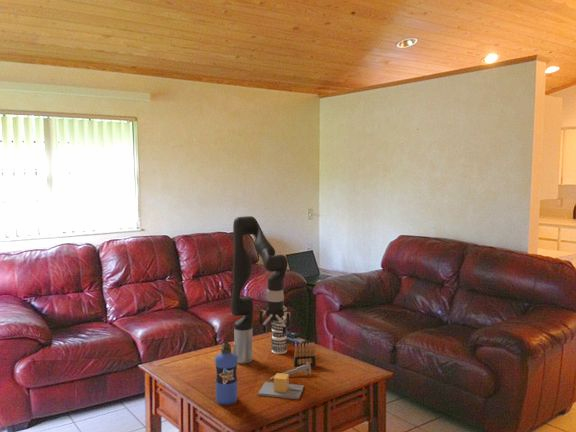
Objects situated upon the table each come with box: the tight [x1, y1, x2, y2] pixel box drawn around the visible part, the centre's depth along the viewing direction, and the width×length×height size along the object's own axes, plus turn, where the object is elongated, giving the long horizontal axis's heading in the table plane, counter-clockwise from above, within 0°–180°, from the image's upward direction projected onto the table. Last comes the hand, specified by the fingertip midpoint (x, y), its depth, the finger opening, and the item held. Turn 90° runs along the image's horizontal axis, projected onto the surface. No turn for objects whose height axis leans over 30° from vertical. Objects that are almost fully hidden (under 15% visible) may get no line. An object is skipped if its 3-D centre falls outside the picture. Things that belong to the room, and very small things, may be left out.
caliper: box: [270, 362, 312, 380], centre depth 236 cm, size 20×1×6 cm, turn 108°
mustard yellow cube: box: [273, 372, 290, 392], centre depth 220 cm, size 6×6×6 cm
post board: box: [257, 381, 305, 400], centre depth 220 cm, size 18×12×6 cm, turn 78°
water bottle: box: [214, 341, 238, 406], centre depth 211 cm, size 9×9×25 cm
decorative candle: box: [270, 304, 288, 355], centre depth 269 cm, size 9×9×25 cm
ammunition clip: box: [293, 341, 316, 368], centre depth 249 cm, size 11×2×12 cm, turn 98°
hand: (274, 333), depth 227 cm, fingers open, 8 cm apart
